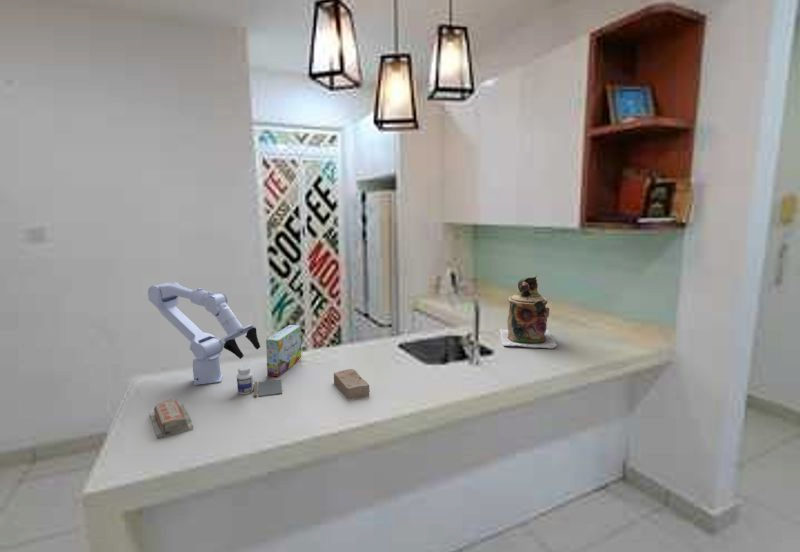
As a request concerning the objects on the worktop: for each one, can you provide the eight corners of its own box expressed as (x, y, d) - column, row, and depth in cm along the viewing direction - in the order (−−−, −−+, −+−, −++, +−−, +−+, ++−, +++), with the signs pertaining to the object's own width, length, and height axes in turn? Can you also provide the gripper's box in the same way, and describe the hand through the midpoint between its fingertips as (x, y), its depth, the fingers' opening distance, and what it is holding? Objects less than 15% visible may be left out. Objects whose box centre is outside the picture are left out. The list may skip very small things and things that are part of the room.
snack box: (280, 377, 175) (278, 340, 172) (266, 376, 176) (264, 339, 173) (302, 358, 195) (301, 324, 192) (290, 357, 196) (288, 323, 193)
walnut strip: (254, 397, 157) (254, 395, 157) (254, 383, 169) (254, 381, 169) (257, 397, 158) (257, 394, 158) (257, 383, 169) (257, 381, 169)
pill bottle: (240, 388, 165) (238, 365, 163) (254, 388, 165) (253, 365, 163) (235, 394, 159) (234, 371, 158) (251, 394, 160) (249, 370, 158)
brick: (370, 396, 159) (370, 383, 158) (348, 401, 155) (348, 388, 154) (353, 379, 173) (353, 367, 173) (332, 383, 170) (332, 371, 169)
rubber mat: (258, 396, 158) (258, 395, 158) (258, 383, 169) (258, 382, 169) (282, 393, 160) (282, 392, 160) (280, 380, 171) (280, 379, 171)
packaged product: (193, 415, 136) (155, 425, 130) (194, 430, 136) (157, 440, 131) (182, 394, 150) (148, 402, 144) (183, 407, 151) (149, 416, 145)
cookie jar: (498, 331, 232) (500, 270, 226) (548, 333, 228) (551, 271, 223) (502, 347, 208) (505, 279, 202) (558, 350, 204) (562, 280, 198)
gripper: (216, 325, 156) (238, 357, 155) (249, 309, 168) (270, 339, 167) (209, 334, 161) (230, 365, 159) (242, 318, 172) (262, 347, 171)
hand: (250, 352), depth 163 cm, fingers open, 7 cm apart
